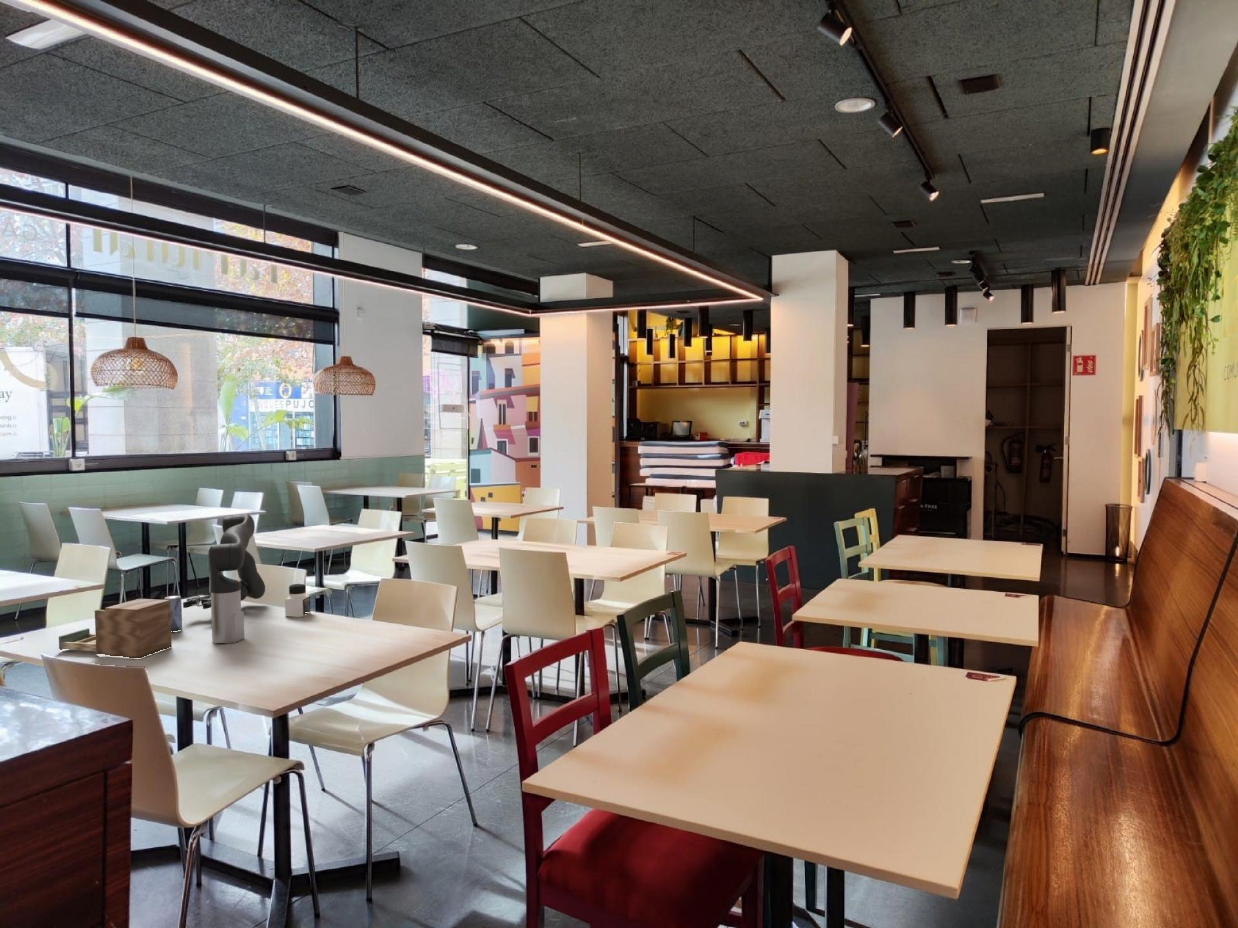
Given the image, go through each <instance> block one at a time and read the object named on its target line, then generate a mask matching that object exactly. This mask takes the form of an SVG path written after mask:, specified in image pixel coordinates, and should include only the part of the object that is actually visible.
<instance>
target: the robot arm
mask: <svg viewBox="0 0 1238 928" xmlns="http://www.w3.org/2000/svg"><path fill="white" fill-rule="evenodd" d="M221 523H222V524H221V525H222V526H221V527H222V532H223V534H222V535H221V538H220V541H219V543H217V544H212V545H210V547H209V549H208V565H209V567H208V569H209V578H210V579H209V580H210V591H209V593H208V594H207V595H204V596H203V595H202V596H199V595H198V596H193V597H189V598H186V600H185V601H183V603H182V607H183V609H187V608H190V607H202V609H203V610H207V609H211V610H210V611H211V612H210V613H211V639H212V640H211V641H212V644H216V643H226V644H231V643H234V644H235V643H238V642H240V641H242V640H244V639H245V637H246V636H245V614H244V613H245V612H244V610H242V601H243V600H245V599H246V598H247V597H248V598H251V599H254V600H257V599H258V600H259V599H261V598H262V597H263V596H264V595H265V592H266V583H265V582H264V580H263V578H262V576H261V575H260V574H259V572H258V569H257V565H256V560H255V558H254V556H253V555H252V553H250V552H249V551H248V550H247V548H248V546H249V542H250V539H252V537H253V535H254V533H255V527H256V526H255V520H254V518H253V517H252V515H250V514H249V513H244V514H243V513H242V514H235V515H228V516H225V517H224V518H223V519H222V521H221ZM232 571H237V575H238V578H239V579H240V580H236V579H233V578H229V577H227V576H225V575H224V574H223V573H222V572H232ZM243 638H244V639H243ZM241 639H242V640H241ZM237 641H238V642H237Z"/></svg>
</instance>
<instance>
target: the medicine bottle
mask: <svg viewBox="0 0 1238 928" xmlns="http://www.w3.org/2000/svg"><path fill="white" fill-rule="evenodd" d="M284 609H285V611H284V612H285V614H284V615H285V617H286V616H304V617H306V616H305V614H308V613H305V612H310V613H311V595H310V594H307V588H306V584H304V583H293V584H291V585H289V586H288V597H286V598H285V599H284ZM308 615H309V614H308Z"/></svg>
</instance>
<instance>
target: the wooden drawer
mask: <svg viewBox="0 0 1238 928" xmlns="http://www.w3.org/2000/svg"><path fill="white" fill-rule="evenodd" d="M90 631H91V630H90V628H83V629H81V630H77V631H74V632H70V633H66V634H64V635H63V634H62V635H60V636H58V650H59V649H60V650H62V649H70V650H74V651H84V652H85V651H88V652H96V633H90Z"/></svg>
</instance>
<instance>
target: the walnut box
mask: <svg viewBox="0 0 1238 928" xmlns="http://www.w3.org/2000/svg"><path fill="white" fill-rule="evenodd" d="M94 625H95V628H94V629H95V631H94V632H95V634H96V651H95V653H96V654H105V655H110V656H123V657H129V658H142V657H144V656H147V655H149V654H153V653H155V652H158V651H160V650H163V649H167V648H169V647H173V646H172V633H171V614H170V600H164V599H155V598H154V599H152V598H137V599H133V600H128V601H125V602H121V603H118V604H115V605H110V606H107V607H105V608H104V609H95V610H94ZM167 650H168V649H167ZM96 654H95V655H96ZM153 655H154V654H153ZM142 659H143V658H142Z"/></svg>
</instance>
